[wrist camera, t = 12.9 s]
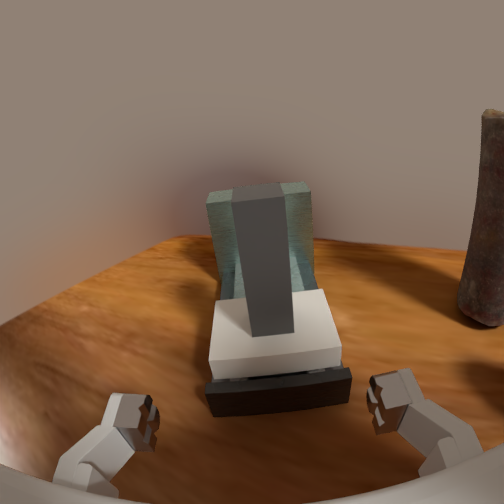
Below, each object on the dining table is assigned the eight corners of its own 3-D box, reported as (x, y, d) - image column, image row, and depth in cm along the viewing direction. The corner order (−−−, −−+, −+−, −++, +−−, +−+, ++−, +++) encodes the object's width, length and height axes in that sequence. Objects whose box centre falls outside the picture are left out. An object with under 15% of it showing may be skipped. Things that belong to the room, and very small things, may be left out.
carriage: (214, 379, 22) (171, 222, 16) (219, 318, 28) (192, 185, 23) (340, 365, 22) (346, 202, 16) (322, 307, 28) (318, 170, 22)
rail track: (207, 417, 22) (169, 315, 17) (223, 267, 42) (209, 192, 37) (354, 401, 21) (370, 293, 17) (308, 257, 41) (304, 181, 37)
